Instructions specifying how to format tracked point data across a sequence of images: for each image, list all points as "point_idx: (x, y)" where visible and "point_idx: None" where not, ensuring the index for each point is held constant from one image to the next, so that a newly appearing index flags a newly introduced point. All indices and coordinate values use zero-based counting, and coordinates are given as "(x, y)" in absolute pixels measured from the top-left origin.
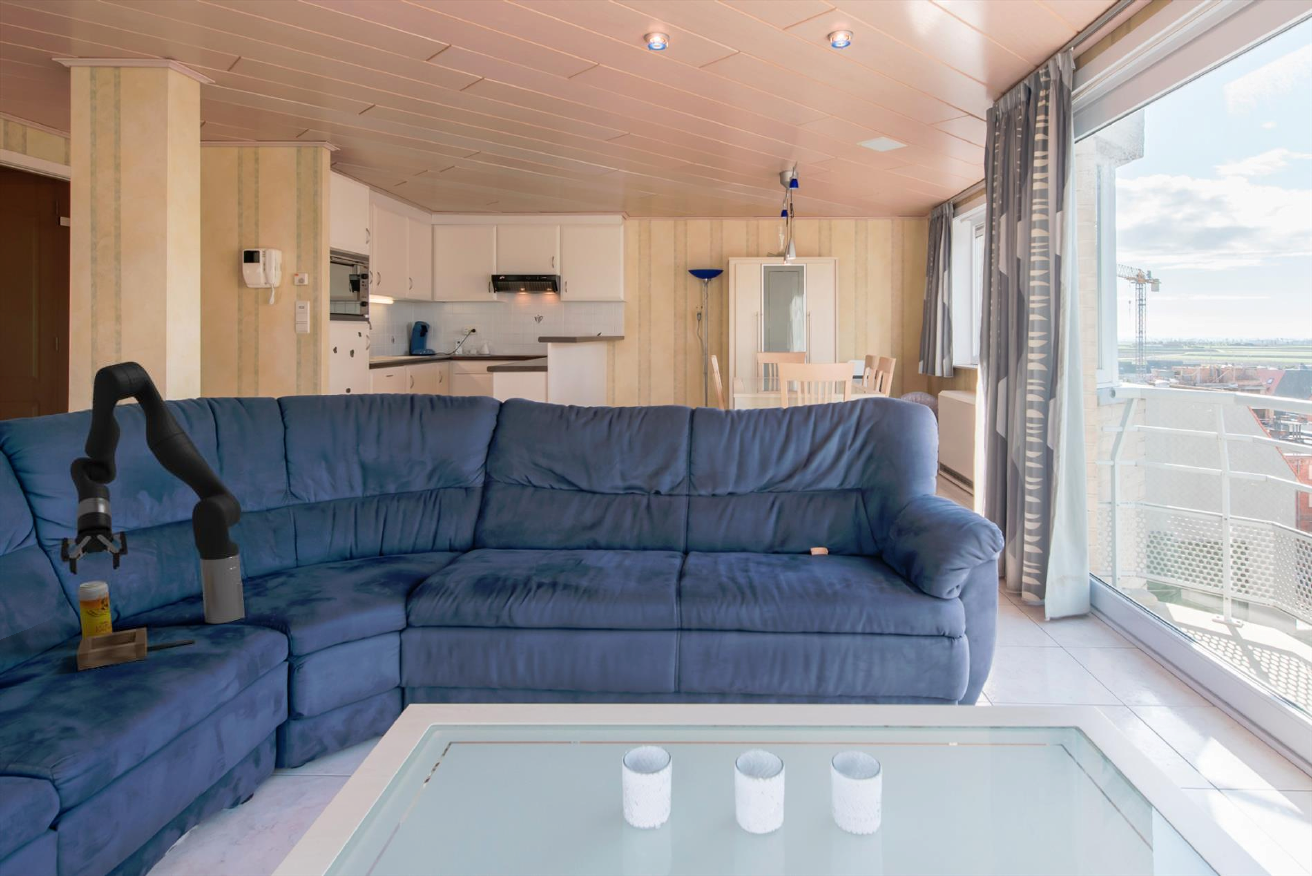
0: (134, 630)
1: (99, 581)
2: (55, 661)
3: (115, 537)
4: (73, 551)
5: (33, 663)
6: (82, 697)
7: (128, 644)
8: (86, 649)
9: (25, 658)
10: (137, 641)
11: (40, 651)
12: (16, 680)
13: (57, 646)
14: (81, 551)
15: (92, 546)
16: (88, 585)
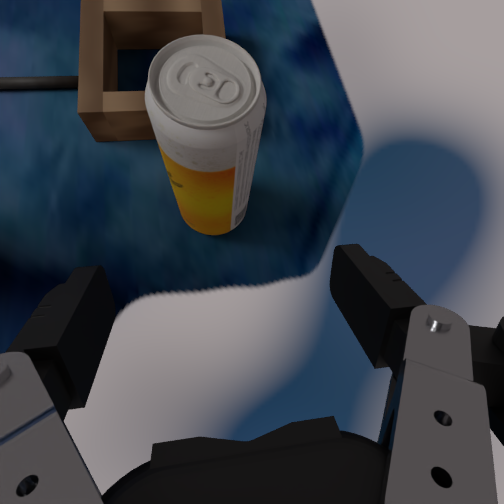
0: (107, 100)
1: (181, 120)
2: (281, 118)
3: None
4: (472, 373)
5: (323, 128)
6: None
7: (117, 3)
8: (206, 17)
9: (351, 171)
10: (97, 13)
11: (335, 207)
12: (322, 48)
13: (306, 228)
14: (390, 410)
15: (278, 462)
16: (222, 72)
